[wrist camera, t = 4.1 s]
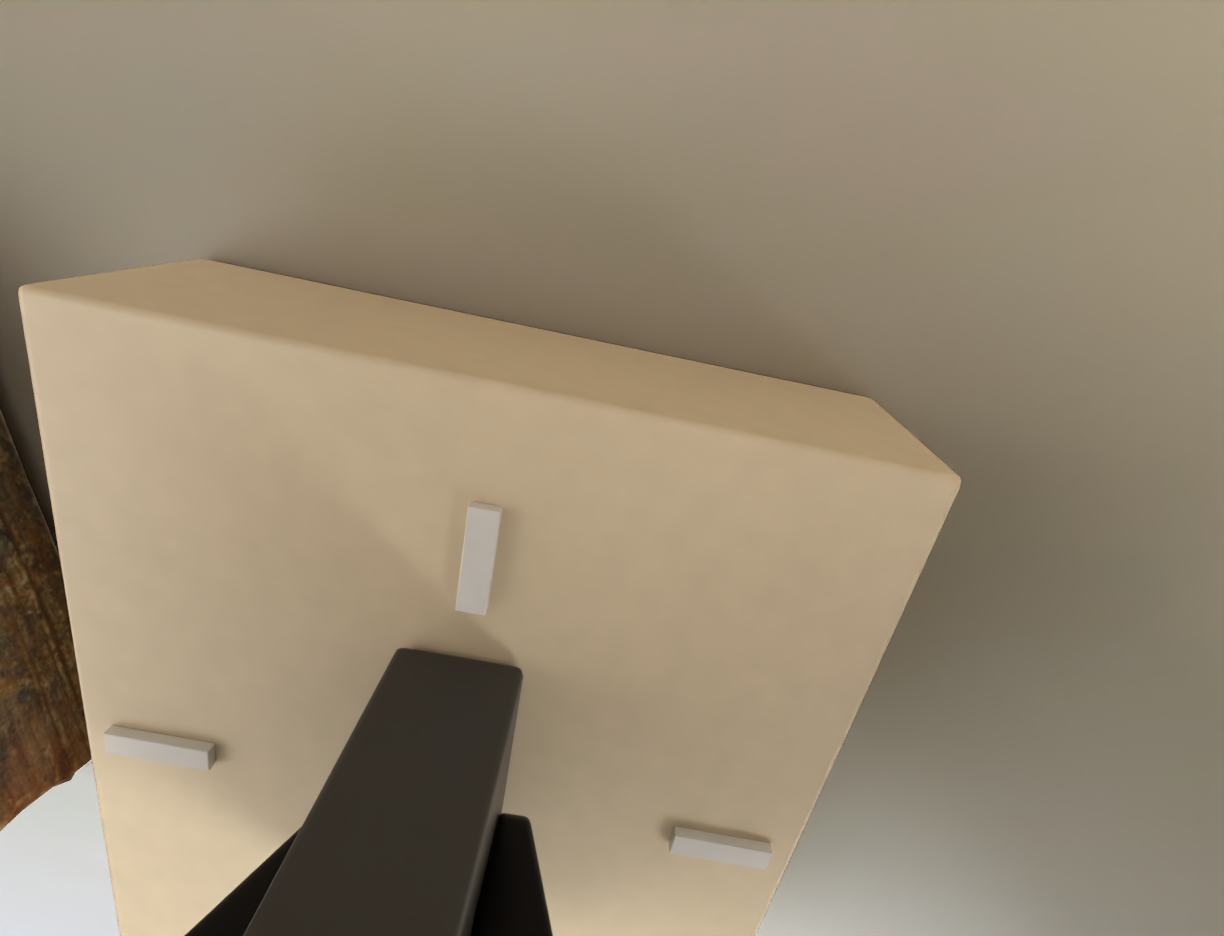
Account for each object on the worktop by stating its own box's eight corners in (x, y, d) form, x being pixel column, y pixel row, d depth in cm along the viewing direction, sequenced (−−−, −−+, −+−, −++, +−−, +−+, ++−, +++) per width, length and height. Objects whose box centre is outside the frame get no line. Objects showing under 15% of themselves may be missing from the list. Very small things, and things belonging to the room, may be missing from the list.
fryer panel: (681, 909, 14) (692, 1092, 11) (227, 830, 14) (118, 998, 11) (874, 397, 10) (974, 485, 7) (198, 256, 9) (-5, 284, 6)
